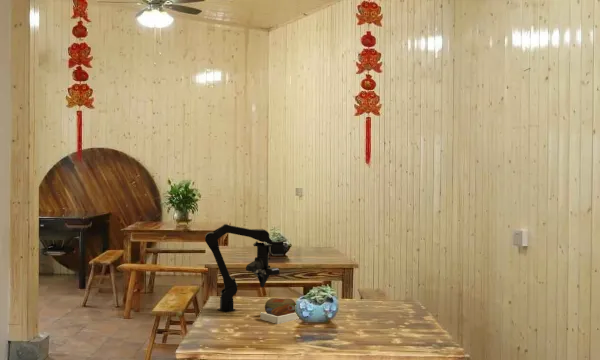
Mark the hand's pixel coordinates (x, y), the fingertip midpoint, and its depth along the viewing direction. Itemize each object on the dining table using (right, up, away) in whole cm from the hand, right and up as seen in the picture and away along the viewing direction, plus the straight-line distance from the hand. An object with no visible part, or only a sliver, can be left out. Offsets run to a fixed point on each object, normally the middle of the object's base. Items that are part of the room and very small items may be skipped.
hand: (262, 287), depth 284 cm
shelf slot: (+11, -11, -15) cm, 22 cm away
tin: (+9, -12, -12) cm, 19 cm away
